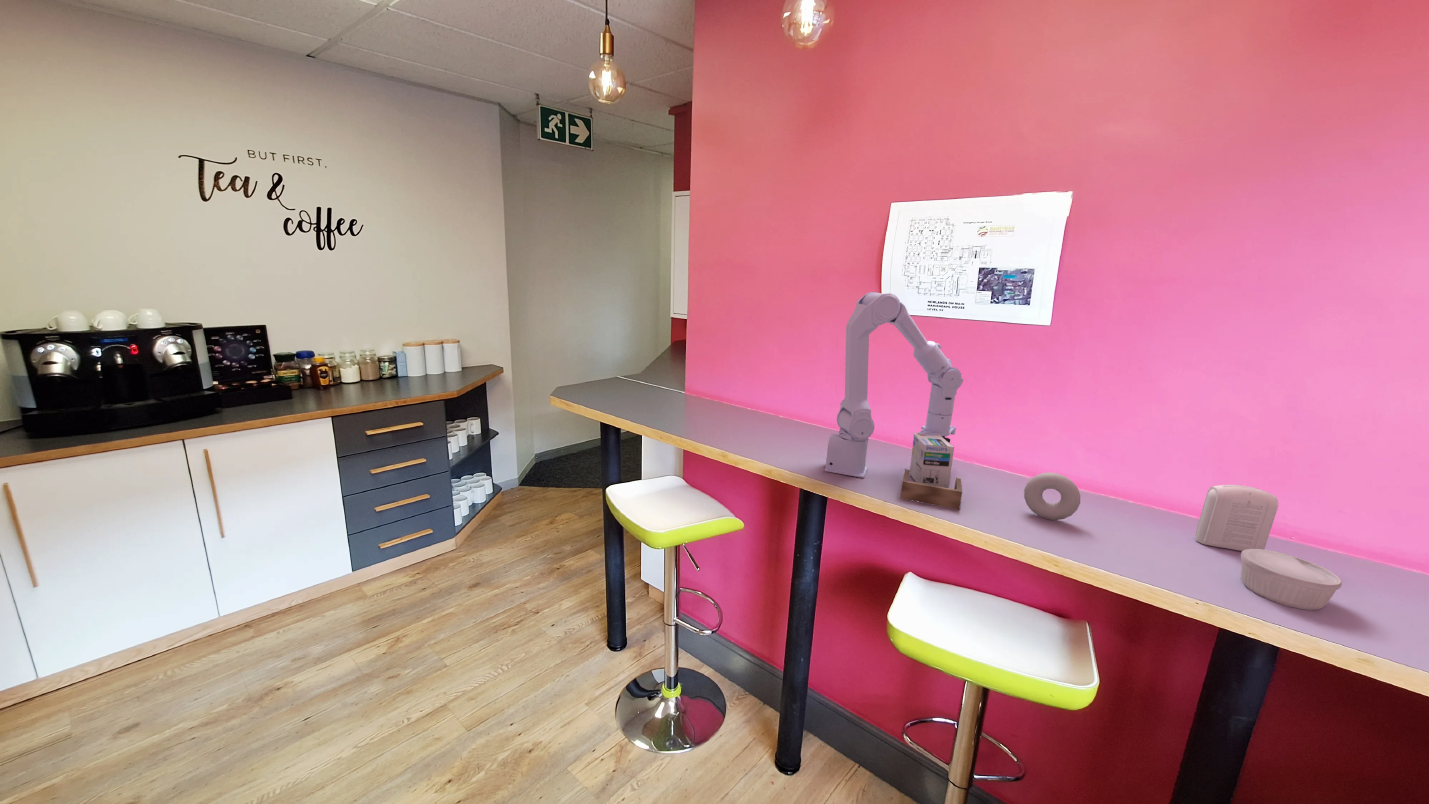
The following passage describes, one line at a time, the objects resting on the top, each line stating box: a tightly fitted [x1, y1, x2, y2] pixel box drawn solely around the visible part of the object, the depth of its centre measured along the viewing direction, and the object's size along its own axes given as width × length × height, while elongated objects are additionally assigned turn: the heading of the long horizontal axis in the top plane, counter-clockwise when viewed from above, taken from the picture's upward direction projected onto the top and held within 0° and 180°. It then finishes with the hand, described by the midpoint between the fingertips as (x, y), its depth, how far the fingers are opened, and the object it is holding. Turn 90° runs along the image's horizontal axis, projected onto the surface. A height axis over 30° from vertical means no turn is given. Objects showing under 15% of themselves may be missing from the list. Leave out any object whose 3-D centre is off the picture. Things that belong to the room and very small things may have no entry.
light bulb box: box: [909, 432, 955, 488], centre depth 129 cm, size 11×7×11 cm, turn 174°
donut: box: [1023, 471, 1081, 521], centre depth 112 cm, size 10×4×10 cm, turn 55°
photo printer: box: [1194, 484, 1279, 552], centre depth 103 cm, size 10×4×12 cm, turn 72°
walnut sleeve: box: [899, 469, 963, 511], centre depth 120 cm, size 12×9×4 cm
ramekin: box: [1240, 549, 1343, 611], centre depth 87 cm, size 11×11×5 cm
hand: (932, 464), depth 138 cm, fingers closed
